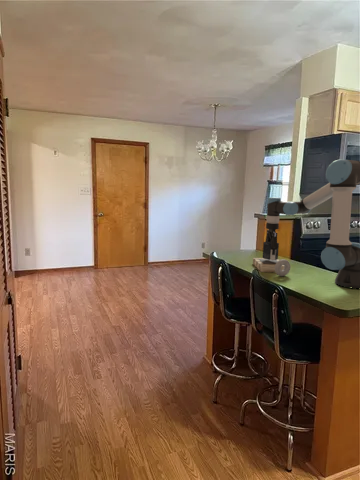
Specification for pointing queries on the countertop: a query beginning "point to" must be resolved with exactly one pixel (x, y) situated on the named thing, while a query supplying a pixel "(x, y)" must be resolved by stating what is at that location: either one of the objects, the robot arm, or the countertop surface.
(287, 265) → the grey wheel
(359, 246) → the robot arm
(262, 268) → the stack base
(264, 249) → the box
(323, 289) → the countertop surface
